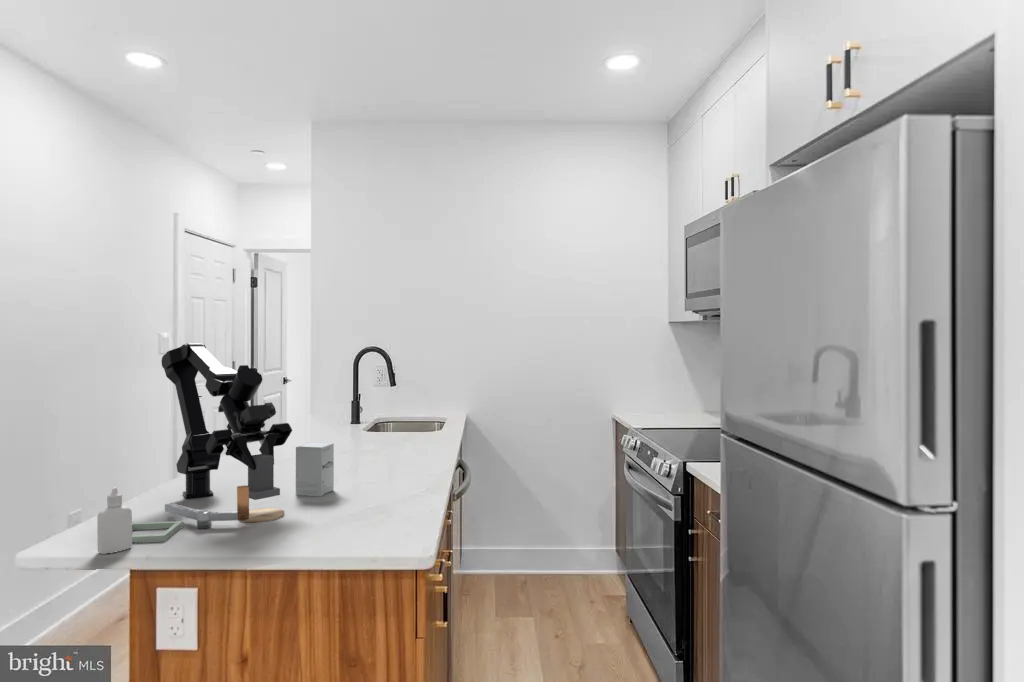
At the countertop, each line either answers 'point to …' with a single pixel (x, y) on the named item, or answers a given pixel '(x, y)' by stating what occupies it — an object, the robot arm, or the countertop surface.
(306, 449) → the supplement box
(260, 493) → the plug
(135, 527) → the socket frame
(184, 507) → the grey rod with hub
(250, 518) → the coaster
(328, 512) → the countertop surface
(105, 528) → the eye dropper bottle
